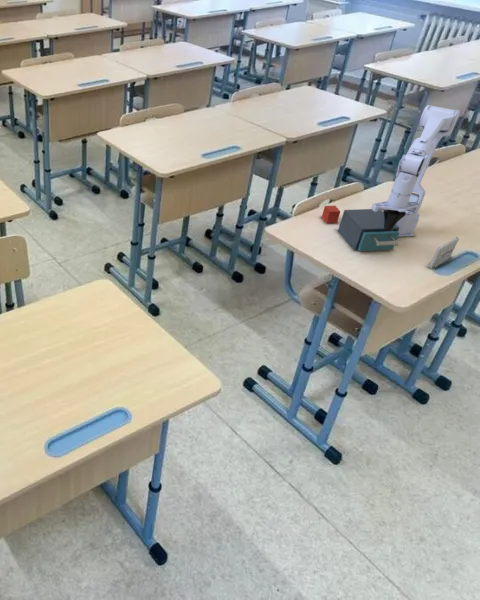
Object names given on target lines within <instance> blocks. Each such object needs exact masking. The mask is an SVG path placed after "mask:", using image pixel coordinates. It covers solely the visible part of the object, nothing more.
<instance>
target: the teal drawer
mask: <svg viewBox="0 0 480 600" xmlns="http://www.w3.org/2000/svg"><path fill="white" fill-rule="evenodd" d="M398 235H399V232H398V231H393V230H391V231H386V230H378V231H363V234H362V237H361V239H360V242H359V245H358V246H359V247H358V252H370V251H371V252H373V251H393V250H394V247H395V246H398V245H399V244H400V242H399V240H398V238H399V237H398Z"/></svg>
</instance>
